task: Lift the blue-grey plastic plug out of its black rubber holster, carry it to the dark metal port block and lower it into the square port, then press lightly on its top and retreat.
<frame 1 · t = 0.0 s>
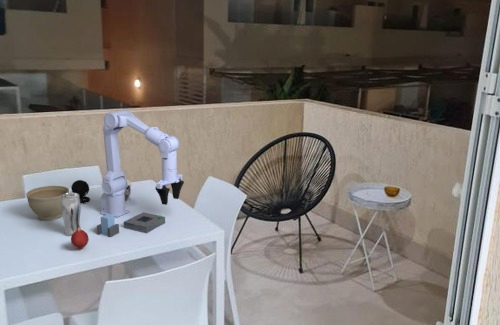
hand: (170, 201, 186), 10 cm above the table, tool pointing down, fingers open, 7 cm apart
plug: (108, 233, 179), on the table
beer glass: (73, 233, 179), on the table
webcam: (81, 201, 214), on the table
planter bowl: (50, 217, 195), on the table
port block: (144, 225, 188), on the table
holster: (108, 233, 179), on the table
red christmas ornament: (80, 249, 166), on the table
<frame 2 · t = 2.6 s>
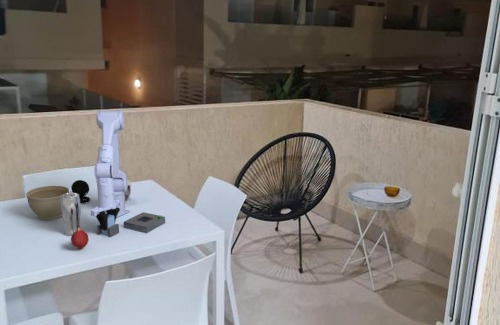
hand: (108, 228, 179), 2 cm above the table, tool pointing down, fingers closed on plug, 3 cm apart
plug: (108, 233, 179), on the table, touching gripper
everything else where it was.
when the fingers open (3 cm above the table, at t = 6.0 s): plug stays where it is, on the table.
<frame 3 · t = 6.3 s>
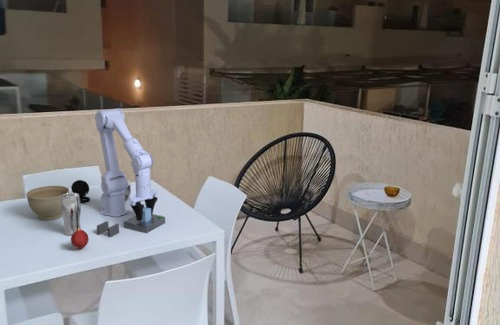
hand: (144, 217, 187), 3 cm above the table, tool pointing down, fingers open, 6 cm apart
plug: (145, 225, 188), on the table
everything else where it was.
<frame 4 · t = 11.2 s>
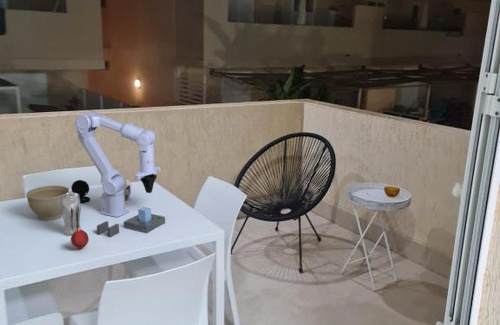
hand: (148, 192, 195), 10 cm above the table, tool pointing down, fingers closed
nothing on the table moved.
at the end: plug 0.1 cm off-centre on the port block, point 0.0 cm above the port block's base; plug tilted 0°; the gripper is holding nothing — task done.
